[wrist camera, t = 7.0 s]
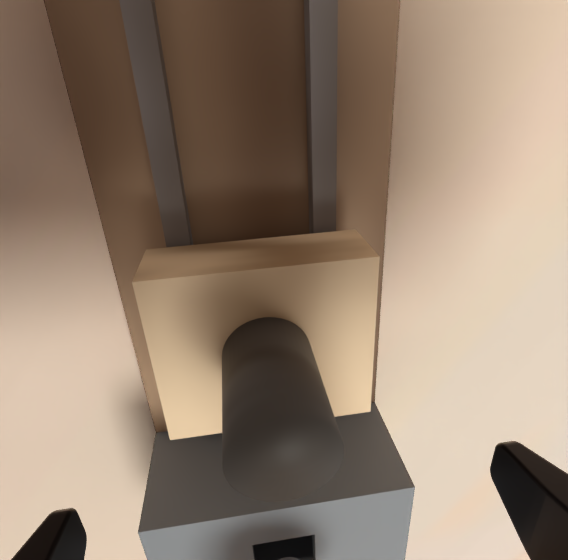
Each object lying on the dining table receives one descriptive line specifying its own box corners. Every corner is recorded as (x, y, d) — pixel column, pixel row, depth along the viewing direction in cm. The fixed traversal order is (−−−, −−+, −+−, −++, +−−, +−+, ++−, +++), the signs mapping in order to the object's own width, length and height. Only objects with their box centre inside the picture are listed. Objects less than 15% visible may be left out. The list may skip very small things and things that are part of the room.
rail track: (160, 408, 20) (144, 493, 16) (-11, -293, 10) (-172, -550, 6) (364, 381, 21) (399, 454, 17) (395, -280, 11) (500, -491, 7)
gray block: (180, 492, 22) (168, 622, 17) (160, 408, 20) (137, 532, 14) (369, 462, 23) (414, 576, 18) (375, 379, 21) (429, 484, 15)
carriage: (176, 391, 16) (153, 564, 10) (145, 249, 13) (91, 376, 8) (351, 368, 17) (418, 518, 11) (355, 229, 14) (446, 332, 8)
